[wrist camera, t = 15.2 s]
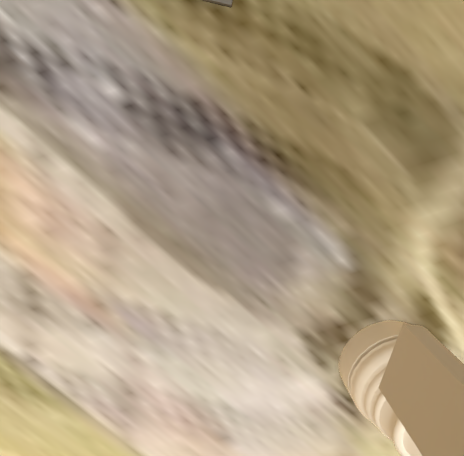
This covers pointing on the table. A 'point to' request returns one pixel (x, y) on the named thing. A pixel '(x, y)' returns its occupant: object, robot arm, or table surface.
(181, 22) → the table surface
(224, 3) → the slate mat
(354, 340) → the honey pot
